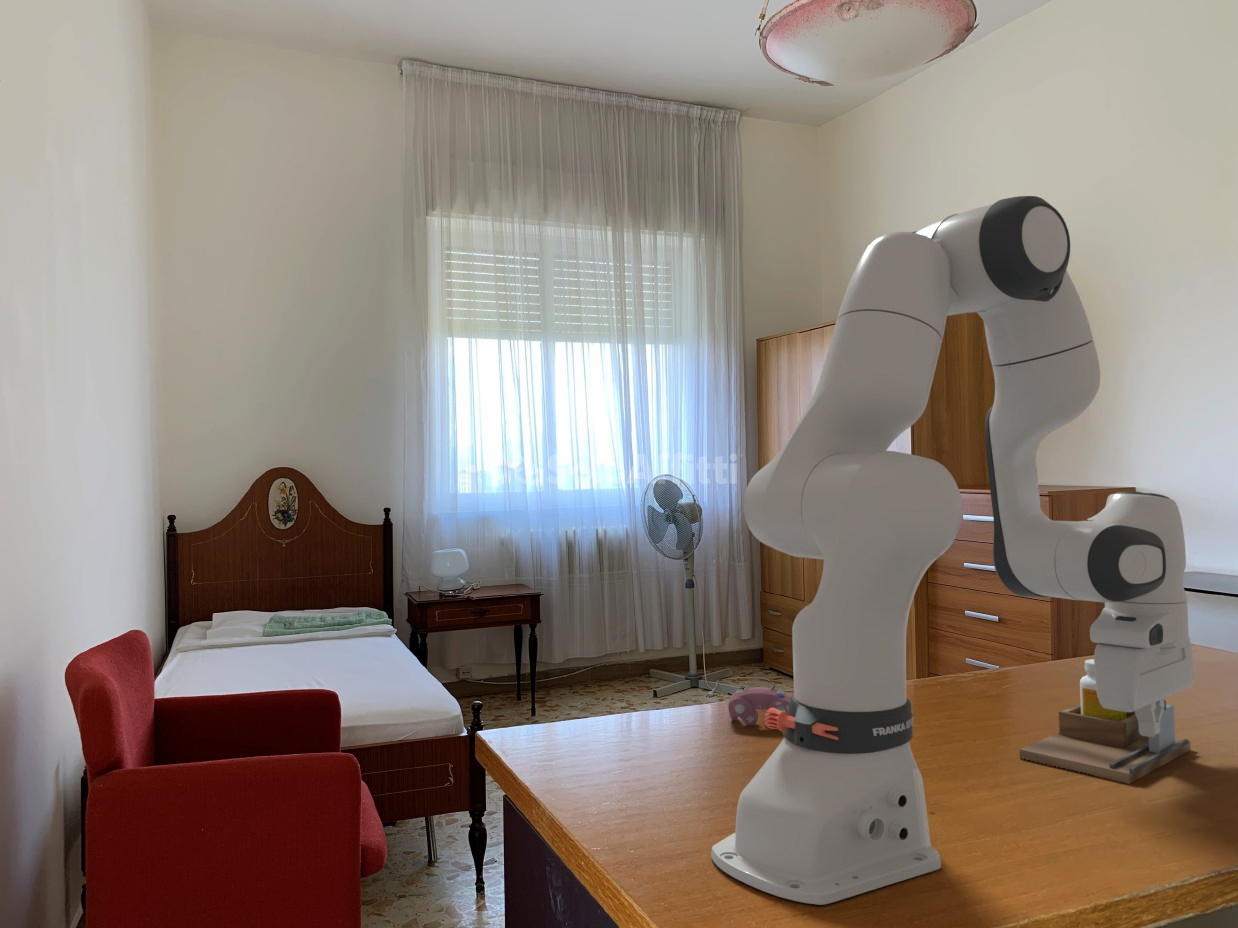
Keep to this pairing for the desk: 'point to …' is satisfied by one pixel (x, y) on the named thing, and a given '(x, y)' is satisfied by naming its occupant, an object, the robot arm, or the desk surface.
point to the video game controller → (756, 703)
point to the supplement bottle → (1094, 697)
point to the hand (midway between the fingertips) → (1149, 735)
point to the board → (1101, 747)
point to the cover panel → (1164, 731)
